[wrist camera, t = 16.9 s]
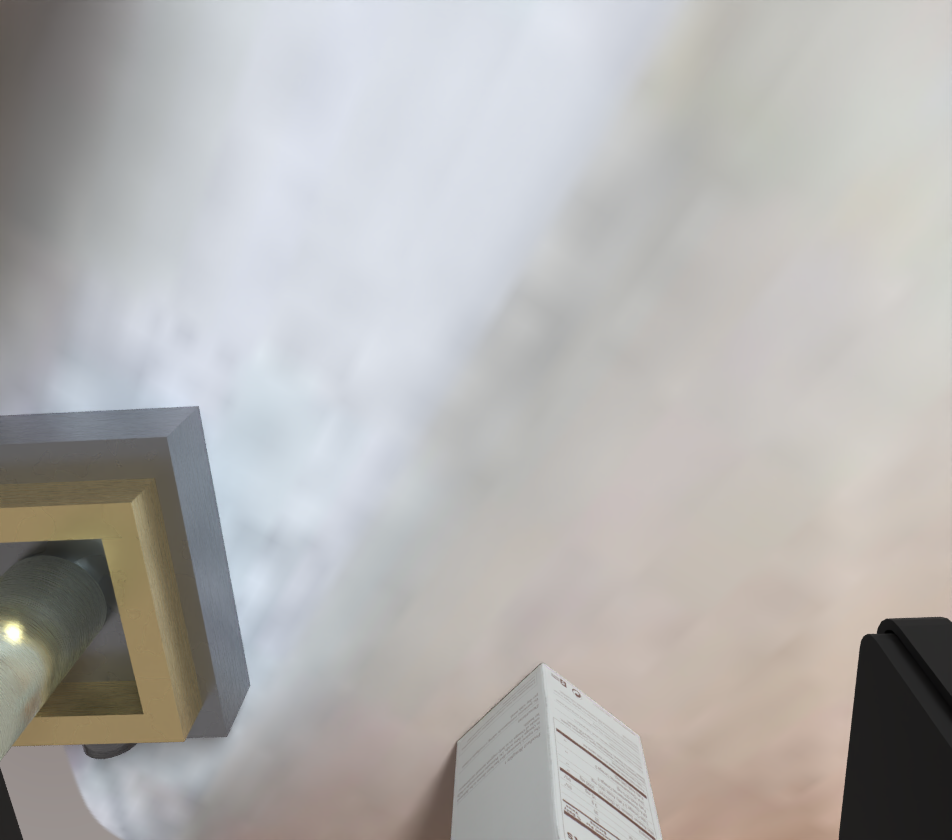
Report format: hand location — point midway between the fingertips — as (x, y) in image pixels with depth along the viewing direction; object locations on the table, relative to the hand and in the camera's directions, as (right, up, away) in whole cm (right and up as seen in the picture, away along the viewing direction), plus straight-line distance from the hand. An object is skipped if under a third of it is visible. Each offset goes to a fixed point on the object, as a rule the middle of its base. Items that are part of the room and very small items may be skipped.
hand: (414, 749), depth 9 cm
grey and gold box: (-19, -4, +34) cm, 39 cm away
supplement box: (+5, -14, +37) cm, 40 cm away
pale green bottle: (-19, -5, +31) cm, 36 cm away
